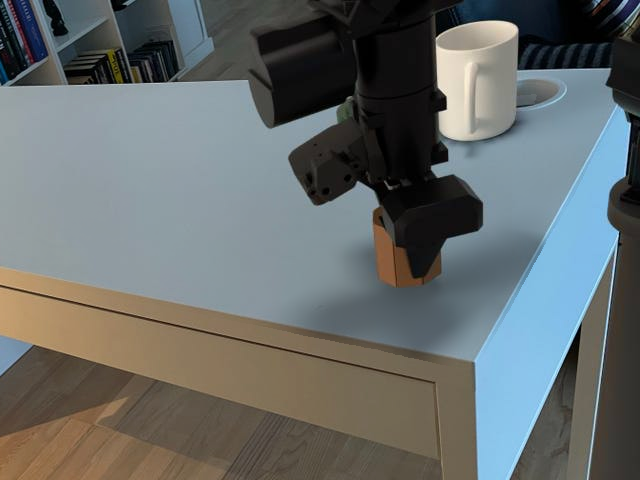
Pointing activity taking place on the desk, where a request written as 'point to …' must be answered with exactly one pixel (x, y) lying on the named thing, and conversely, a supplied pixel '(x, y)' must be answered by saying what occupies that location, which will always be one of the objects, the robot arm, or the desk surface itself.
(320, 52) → the robot arm
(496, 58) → the cup
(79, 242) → the desk surface
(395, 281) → the octagonal wooden prism
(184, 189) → the desk surface
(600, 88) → the desk surface
